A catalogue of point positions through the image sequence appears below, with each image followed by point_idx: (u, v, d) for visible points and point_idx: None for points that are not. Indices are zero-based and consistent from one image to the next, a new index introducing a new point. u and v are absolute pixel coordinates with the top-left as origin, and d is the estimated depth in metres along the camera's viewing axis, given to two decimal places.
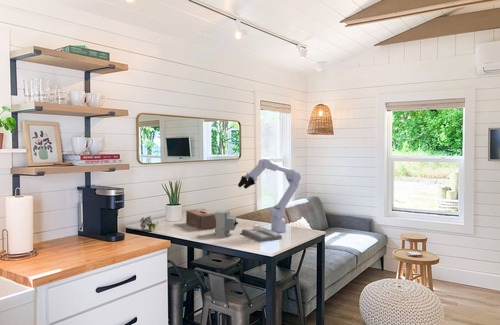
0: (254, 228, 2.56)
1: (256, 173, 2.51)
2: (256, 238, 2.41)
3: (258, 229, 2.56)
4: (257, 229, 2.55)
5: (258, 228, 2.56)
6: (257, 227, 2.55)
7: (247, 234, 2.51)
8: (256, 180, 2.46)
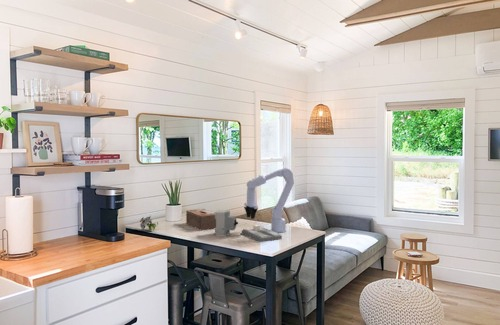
0: (254, 228, 2.56)
1: (252, 199, 2.60)
2: (256, 238, 2.41)
3: (258, 229, 2.56)
4: (257, 229, 2.55)
5: (258, 228, 2.56)
6: (257, 227, 2.55)
7: (247, 234, 2.51)
8: (257, 207, 2.57)
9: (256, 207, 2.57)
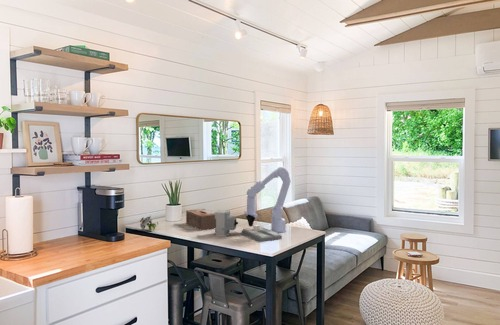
0: (254, 228, 2.56)
1: (252, 208, 2.60)
2: (256, 238, 2.41)
3: (258, 229, 2.56)
4: (257, 229, 2.55)
5: (258, 228, 2.56)
6: (257, 227, 2.55)
7: (247, 234, 2.51)
8: (257, 216, 2.57)
9: (256, 216, 2.57)
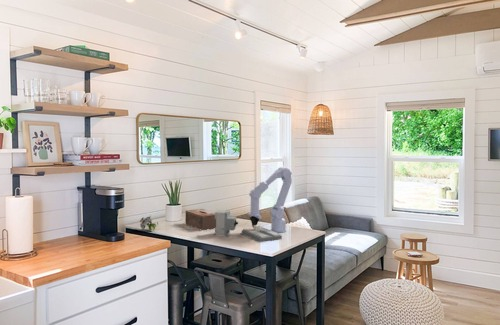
0: (254, 228, 2.56)
1: (256, 209, 2.56)
2: (256, 238, 2.41)
3: (259, 229, 2.55)
4: (257, 229, 2.55)
5: (258, 228, 2.55)
6: (257, 227, 2.55)
7: (247, 234, 2.51)
8: (261, 217, 2.53)
9: (260, 217, 2.52)
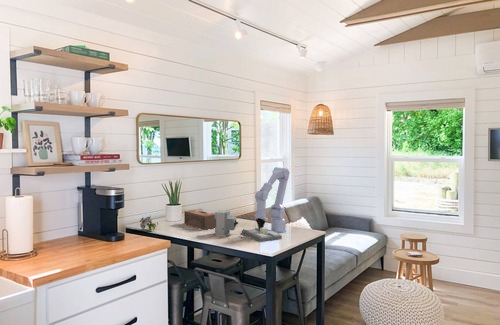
0: (261, 231, 2.49)
1: (262, 211, 2.49)
2: (256, 238, 2.41)
3: (265, 232, 2.48)
4: (264, 232, 2.48)
5: (265, 231, 2.48)
6: (264, 230, 2.48)
7: (247, 234, 2.51)
8: None
9: (267, 219, 2.45)
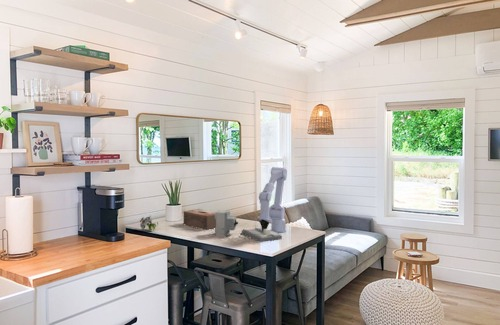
0: (264, 232, 2.45)
1: (266, 212, 2.45)
2: (256, 238, 2.41)
3: (269, 233, 2.45)
4: (267, 233, 2.44)
5: (269, 232, 2.44)
6: (268, 231, 2.44)
7: (247, 234, 2.51)
8: (272, 220, 2.42)
9: (270, 221, 2.42)
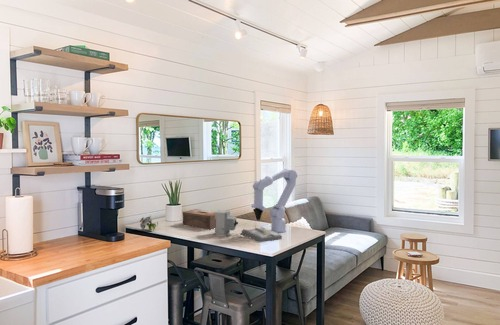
0: (264, 232, 2.45)
1: (260, 201, 2.54)
2: (256, 238, 2.41)
3: (269, 233, 2.44)
4: (268, 233, 2.44)
5: (269, 232, 2.44)
6: (268, 231, 2.44)
7: (247, 234, 2.51)
8: (265, 209, 2.52)
9: (264, 209, 2.51)
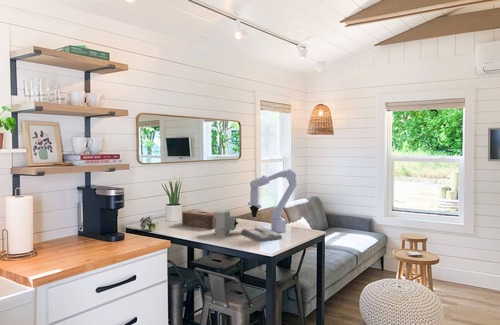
0: (264, 232, 2.45)
1: (256, 199, 2.64)
2: (256, 238, 2.41)
3: (269, 233, 2.44)
4: (268, 233, 2.44)
5: (269, 232, 2.44)
6: (268, 231, 2.44)
7: (247, 234, 2.51)
8: None
9: (260, 206, 2.60)
